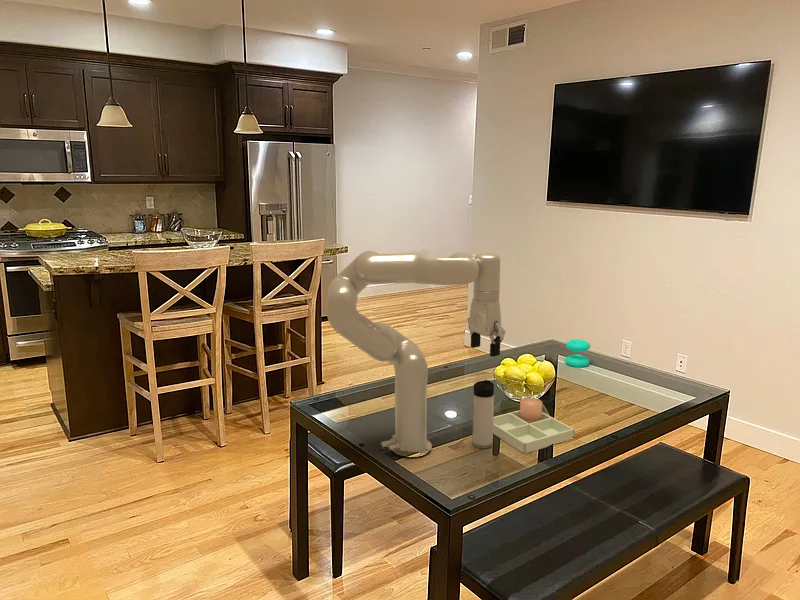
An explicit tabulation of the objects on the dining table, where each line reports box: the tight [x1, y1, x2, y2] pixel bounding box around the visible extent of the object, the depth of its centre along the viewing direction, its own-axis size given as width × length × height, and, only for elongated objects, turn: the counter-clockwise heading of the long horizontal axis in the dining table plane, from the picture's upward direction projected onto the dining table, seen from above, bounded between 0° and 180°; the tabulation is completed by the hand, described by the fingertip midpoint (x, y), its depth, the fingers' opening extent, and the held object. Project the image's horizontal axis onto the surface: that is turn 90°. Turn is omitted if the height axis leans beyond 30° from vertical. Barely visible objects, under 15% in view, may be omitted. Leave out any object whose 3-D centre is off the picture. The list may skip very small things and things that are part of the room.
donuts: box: [564, 338, 591, 368], centre depth 254 cm, size 10×10×10 cm
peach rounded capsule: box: [519, 397, 543, 423], centre depth 194 cm, size 7×7×8 cm
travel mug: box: [472, 379, 495, 449], centre depth 181 cm, size 6×7×20 cm
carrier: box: [493, 409, 575, 454], centre depth 188 cm, size 20×20×4 cm
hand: (484, 351), depth 177 cm, fingers open, 9 cm apart
